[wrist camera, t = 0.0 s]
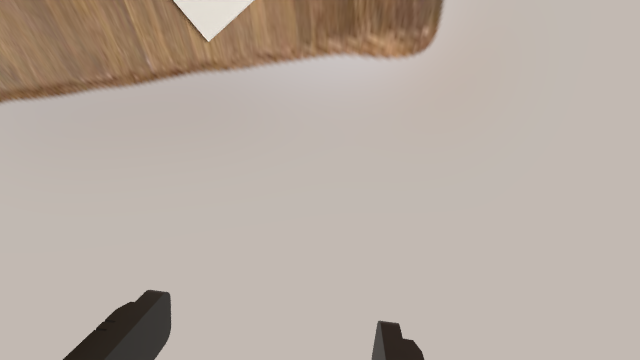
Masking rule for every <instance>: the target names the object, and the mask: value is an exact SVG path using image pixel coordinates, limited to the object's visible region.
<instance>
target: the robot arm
mask: <svg viewBox="0 0 640 360" xmlns="http://www.w3.org/2000/svg"><path fill="white" fill-rule="evenodd" d="M170 301H171V300H170V294H169V293H168V292H161V291H154V290H147V291H146V292H145V293H144V294H143V295H142V296H141V297H140V298H139V299H138V300H137V301H136V302H129V303H127V304H125V305H123V306H122V307H120V308H118V309H116V310H115V311H114V312H113V313H112V314H111V315H110V316H109V317H108V318H107V319H106V320H105V322H102V323H101V324H100V325H99V326H98V327H97V328H96V330H94V331H93V332H92V333H91V334H89V335H88V336H87V337H86V338H85V339H84V340H83V341H82V342H81V343H80V344H79V345H78V346H77V347H76V348H75V349H74V350H73V351H72V352H70V353H69V354H68V355H67V356H66V357H65V358H64V359H63V360H154V359H155V358H156V357H157V355H158V354H159V352H160V351H161V350H162V348H163V346H164V345H165V344H166V342H167V340H168V338H169V335H170V330H171V302H170ZM372 360H424V357H423V354H422V351H421V350H420V349H419V348H418V346H417V345H416V344H415V342H414V341H413V340H408V339H403V338H402V334H401V329H400V326H399V324H398V323H392V322H384V321H378V324H377V329H376V336H375V342H374V348H373V353H372Z"/></svg>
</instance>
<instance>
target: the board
mask: <svg viewBox="0 0 640 360" xmlns="http://www.w3.org/2000/svg"><path fill="white" fill-rule="evenodd" d="M173 1H174V2H175V3H176V4H177V5H178V7H179V8H180V9H181V10H182V11H183V12H184V14H185V15H186V16H187V17H188V18H189V20H190V21H191V22H192V23H193V24H194V25H195V27H196V28H197V29H198V30H199V31H200V33H201V34H202V35H203V36H204V37H205V38H206V40H207V41H208V42H209V41H211V40H212V39H213V38H214V37H215V36H216V35H217V34H218V33H219V32H220V31H221V30H223V29H224V28H225V27H226V26H227V25H228V24H229V23H230V22H231V21H232V20H233V19H235V18H236V17H237V16H238V15H239V14H240V13H241V12H242V11H243V10H244V9H245V8H247V7H248V6H249V5H250V4H251V3H252V2H253V1H254V0H173Z"/></svg>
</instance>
